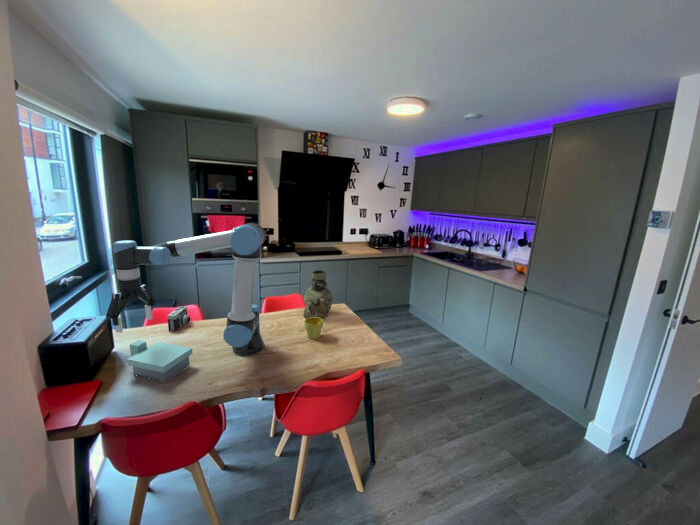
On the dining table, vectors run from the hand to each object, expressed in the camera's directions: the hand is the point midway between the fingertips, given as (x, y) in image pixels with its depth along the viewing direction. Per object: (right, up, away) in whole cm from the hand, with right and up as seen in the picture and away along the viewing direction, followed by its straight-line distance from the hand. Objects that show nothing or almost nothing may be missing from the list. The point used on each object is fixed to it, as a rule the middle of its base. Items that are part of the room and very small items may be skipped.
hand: (135, 325), depth 124 cm
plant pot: (+73, -15, +37) cm, 83 cm away
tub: (+11, -20, +2) cm, 23 cm away
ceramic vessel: (+72, -8, +66) cm, 98 cm away
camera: (-5, -10, +44) cm, 45 cm away
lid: (+9, -15, +1) cm, 17 cm away
